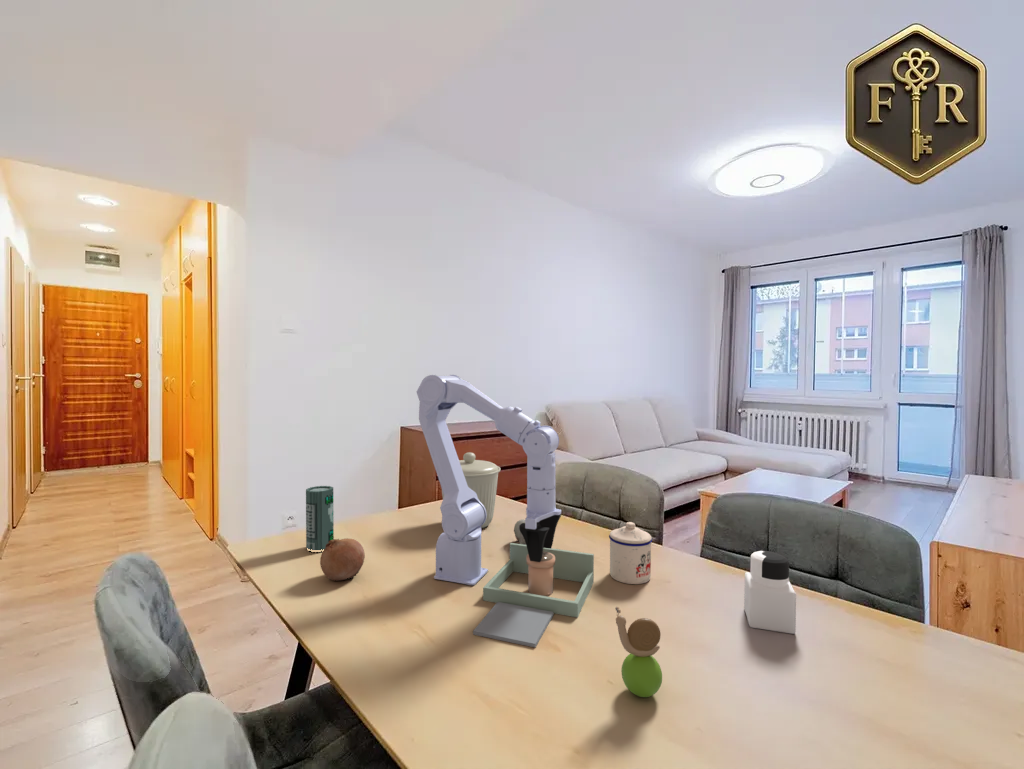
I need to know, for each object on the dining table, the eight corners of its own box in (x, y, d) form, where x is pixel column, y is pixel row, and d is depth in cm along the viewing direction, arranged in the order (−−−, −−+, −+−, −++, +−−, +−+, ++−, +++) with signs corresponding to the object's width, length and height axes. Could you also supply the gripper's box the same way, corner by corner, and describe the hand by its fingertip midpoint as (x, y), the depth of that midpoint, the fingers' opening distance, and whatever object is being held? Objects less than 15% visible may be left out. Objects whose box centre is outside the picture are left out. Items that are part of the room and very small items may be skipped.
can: (337, 547, 120) (337, 488, 120) (314, 554, 116) (313, 493, 115) (325, 542, 124) (325, 484, 124) (302, 548, 120) (302, 488, 119)
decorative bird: (528, 539, 127) (528, 509, 127) (557, 563, 111) (557, 529, 111) (507, 542, 125) (507, 511, 125) (534, 567, 109) (534, 532, 109)
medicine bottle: (786, 615, 88) (788, 550, 87) (796, 635, 81) (797, 564, 81) (743, 608, 90) (744, 545, 90) (749, 627, 83) (750, 559, 83)
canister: (510, 520, 143) (510, 450, 143) (482, 539, 127) (482, 460, 126) (458, 512, 151) (458, 446, 150) (425, 530, 134) (425, 455, 134)
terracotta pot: (522, 594, 95) (522, 559, 95) (531, 583, 101) (531, 549, 100) (550, 599, 93) (550, 563, 93) (558, 587, 99) (558, 553, 98)
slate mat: (473, 634, 81) (473, 630, 81) (497, 604, 91) (497, 601, 91) (535, 647, 77) (535, 643, 77) (553, 615, 87) (553, 611, 87)
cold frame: (483, 600, 93) (483, 569, 93) (510, 569, 107) (511, 542, 107) (577, 617, 86) (577, 584, 86) (593, 582, 101) (593, 554, 101)
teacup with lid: (643, 589, 98) (644, 532, 97) (602, 578, 103) (602, 524, 102) (661, 569, 108) (661, 518, 107) (622, 560, 113) (622, 511, 112)
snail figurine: (609, 681, 68) (610, 598, 68) (653, 679, 69) (654, 597, 69) (621, 708, 63) (622, 618, 63) (668, 705, 64) (669, 616, 63)
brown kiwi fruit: (325, 595, 101) (302, 557, 99) (349, 567, 109) (329, 532, 108) (357, 586, 98) (334, 547, 96) (380, 559, 106) (359, 522, 104)
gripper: (550, 497, 88) (550, 570, 88) (569, 480, 102) (568, 544, 102) (514, 494, 91) (514, 565, 91) (537, 478, 104) (537, 540, 104)
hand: (541, 554), depth 97 cm, fingers open, 7 cm apart
